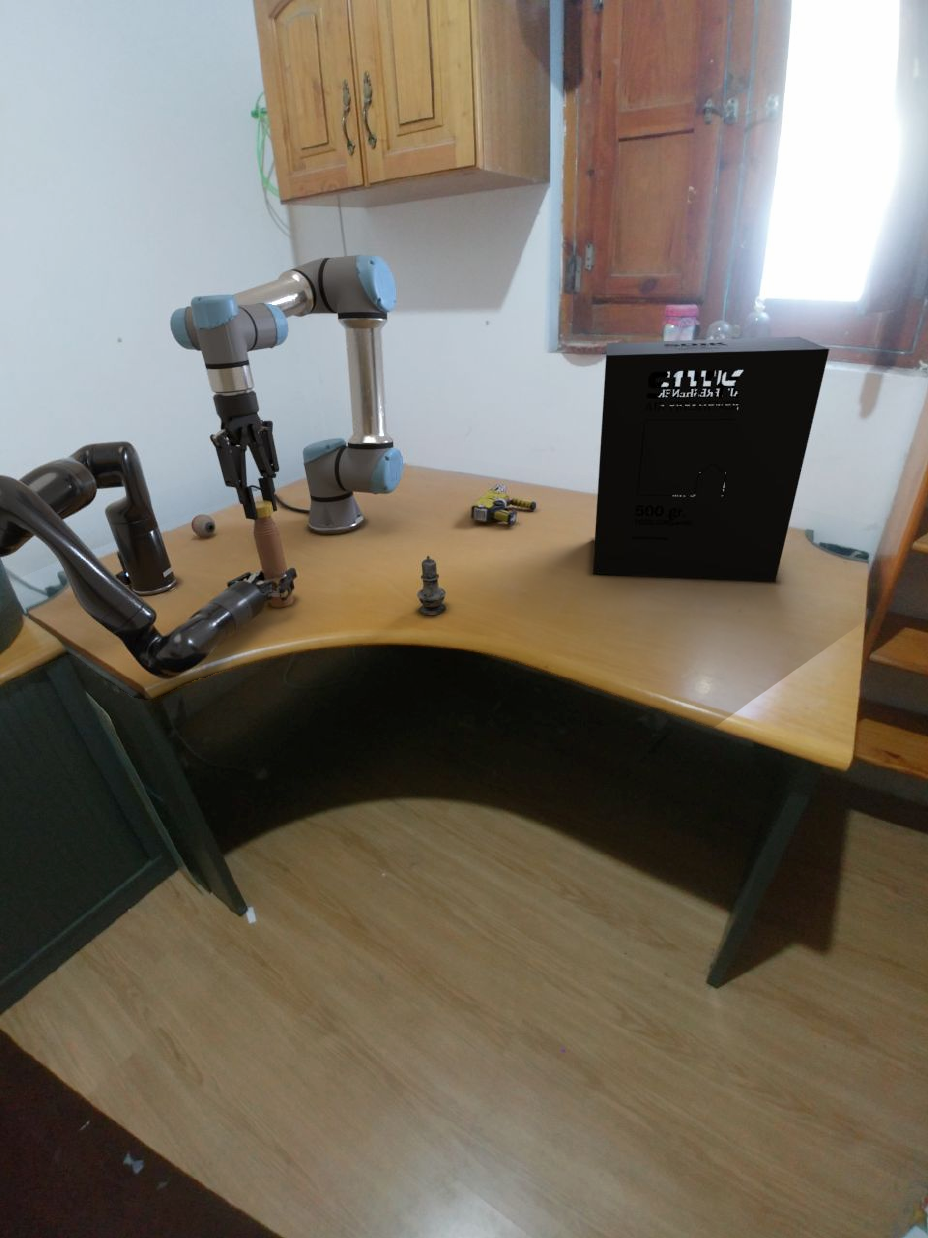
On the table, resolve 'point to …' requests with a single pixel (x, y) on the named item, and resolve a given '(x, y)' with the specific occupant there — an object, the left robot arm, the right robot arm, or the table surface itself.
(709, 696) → the table surface
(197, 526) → the eyeball
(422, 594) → the dark grey tiered piece
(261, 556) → the bottle
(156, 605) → the table surface
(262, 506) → the cap
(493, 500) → the toy gun
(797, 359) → the cardboard box
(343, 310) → the right robot arm
